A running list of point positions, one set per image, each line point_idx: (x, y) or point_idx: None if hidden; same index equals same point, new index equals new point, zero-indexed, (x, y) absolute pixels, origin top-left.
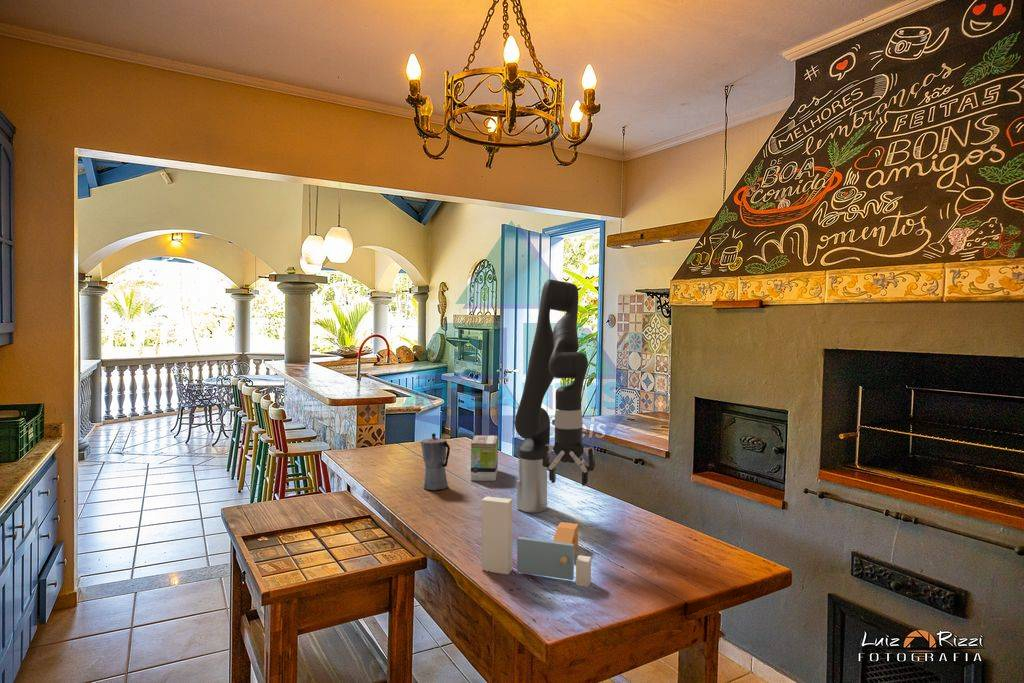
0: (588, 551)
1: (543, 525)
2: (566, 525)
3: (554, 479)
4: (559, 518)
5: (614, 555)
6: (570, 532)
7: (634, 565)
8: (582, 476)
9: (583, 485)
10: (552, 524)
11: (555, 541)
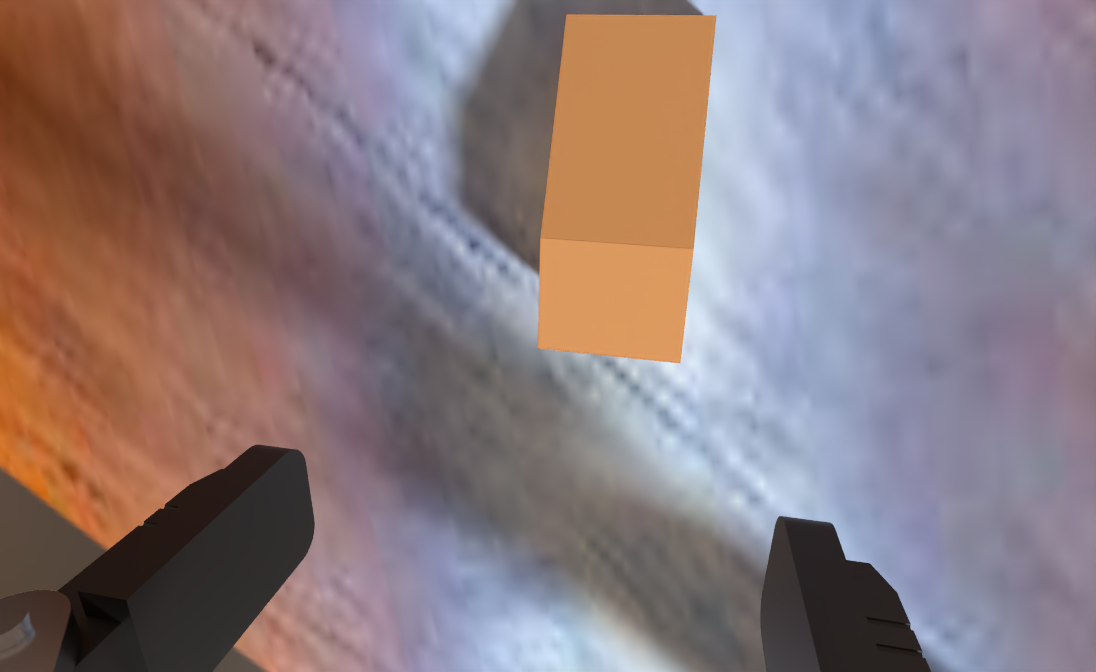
0: (489, 220)
1: None
2: (621, 301)
3: (779, 591)
4: (739, 644)
5: (340, 203)
6: (574, 202)
7: (211, 95)
8: (177, 538)
9: (275, 447)
10: None
11: (686, 100)
